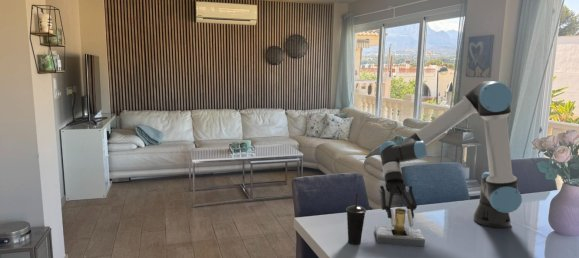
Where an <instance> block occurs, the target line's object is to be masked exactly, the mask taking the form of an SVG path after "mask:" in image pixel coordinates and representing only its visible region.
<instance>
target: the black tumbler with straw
mask: <svg viewBox="0 0 579 258" xmlns="http://www.w3.org/2000/svg"><path fill="white" fill-rule="evenodd" d="M358 196H359V193H357V192H356V193H355V204H354V205H350V206H347V207H346V209H345V211H346V219H347V220H346V221H347V222H346V223H347V242H348V244H350V245H354V246H358V245H360V244H361V242H362V236H363V229H364V223H365V214H366V213H367V208H365V207H363V206H361V205H358V199H359V198H358Z"/></svg>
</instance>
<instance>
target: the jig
mask: <svg viewBox="0 0 579 258" xmlns="http://www.w3.org/2000/svg"><path fill="white" fill-rule="evenodd" d="M374 233H375V238H376V243H377V244H385V245H386V244H388V245H397V244H398V245H399V246H411V247H426V246H425V243H426V238H425V237H424V235H423V234H422V233H423V232H421V230H420V228H418V227H417V228H414V227H404V236H401V235H394V227H392V226H387V225H375V227H374ZM398 245H397V246H398Z"/></svg>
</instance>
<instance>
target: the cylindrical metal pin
mask: <svg viewBox="0 0 579 258" xmlns="http://www.w3.org/2000/svg"><path fill="white" fill-rule="evenodd" d="M406 214H407V210H406V209H404V208H395V210H394V219H395V226H394V235H401V236H404V228H406V227H405V225H406V224H405V223H406Z"/></svg>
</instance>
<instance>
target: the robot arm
mask: <svg viewBox="0 0 579 258" xmlns="http://www.w3.org/2000/svg"><path fill="white" fill-rule="evenodd" d="M512 102H513V92H512V90H511V89H510V87H509V86H508V85H506V84H505V83H503V82H501V81H497V80H494V81H493V80H486V81H482V82H480V83H478V84H477V85H476V86H475V87H473V88H472V89H471V90H470V91H469V92H467V93H466V94H465V95H463V97H462V100H460V101H459V102H456V104H454V105H453V106H452V107H450V108H448V109H447V110H446V111H444V112H443V113H442V114H440V115H439V116H437V117H436V118H434V119H433V120H432V121H430V122H429V123H428V124H426V125H425V126H423V127H422V128H420V129H419V130H418V131H416V132H415V133H413V134H412V135H410V136H407V137H405V139H403V141H402V144H396V142H395V141H390V140H389V141H384V142H382V143H381V144H380V146H379V155H380V160H381V165H382V170H383V171H382V172H383V176H384V183H385V185H384V186H383V185H380V187H379V188H378V189H379V190H378V191H379V193H380V202H381V204H380V205H381V211H385V212H386V214H387V218H388V219H390V224H391V225H390V226H391V227H394V226H395V213H394V209H393V208H392V203H393V198H394V196H398V197H399V198H400V199H401V200H402V202H403V204H404V206H405V207H406V209H407V210H406V214H407V219H408V225H409V228H413V226H414V224H415V223H414V218H415V213H414V211H416V209H417V207H418V205H417V202H416V199H415V196H414V193H413V186H412V185H409V186H407V185H406V184H405V182H404V178H403V171H402V167H401V163H403V162H409V161H414V160H421V159H424V158H427V156H428V151H427V147H426V146H428V145H429V144H430V143H432V142H433V141H435V140H436V139H439V138H440V137H441V136H442V135H443V134H445V133H446V132H448V131H449V130H451V129H453V128H454V127H455V126H457V125H458V124H460V123H461V122H462V121H465V119H467V118H469V116H472V115H473V114H478V115H479V117H480V118H481V119H482V120H483V124H484V125H483V126H484V134H485V142H486V143H485V145H486V152H487V153H486V154H487V165H488V171H484V172H483V173H482V175H481V182H480V195H479V203H478V205H477V208H476V209H475V212H474V214H473V221H474V222H475V223H477V224H479V225H482V226H484V227H490V228H495V229H496V228H497V229H505V228H506V229H507V228H509V227H510V226H511V221H512V220H511V217H510V213H513V212H515V211H516V210H518V209H519V208H520V207H521V205H522V202H523V198H522V194H521V192H520V190H519V185H518V177H517V176H515V175H514V174H513V165H512V155H511V145H510V134H509V125H508V117H509V116H510V115H511V113H512V112H511V111H512V110H511V103H512ZM386 191H387V192H388V200H387V201H386ZM406 193H407V195H406Z"/></svg>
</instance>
